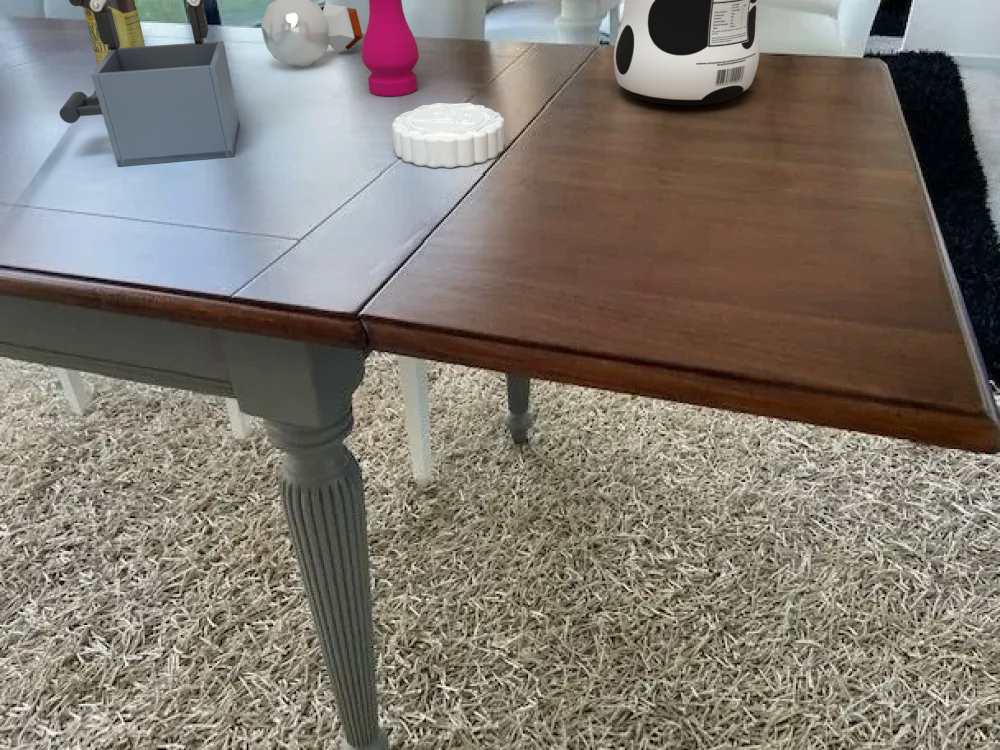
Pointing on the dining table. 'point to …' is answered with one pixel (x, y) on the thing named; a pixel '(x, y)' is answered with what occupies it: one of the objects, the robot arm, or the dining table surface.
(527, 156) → the dining table surface
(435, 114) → the mooncake
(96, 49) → the sauce bottle
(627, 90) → the milk container
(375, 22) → the pepper mill
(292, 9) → the potion bottle
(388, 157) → the dining table surface
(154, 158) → the grey drawer with handle
